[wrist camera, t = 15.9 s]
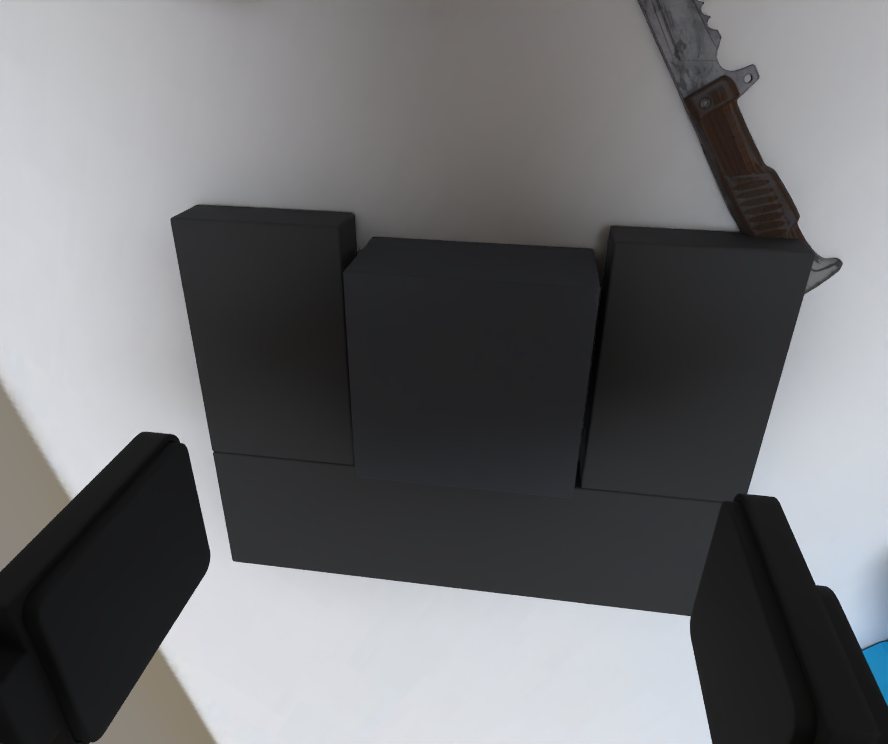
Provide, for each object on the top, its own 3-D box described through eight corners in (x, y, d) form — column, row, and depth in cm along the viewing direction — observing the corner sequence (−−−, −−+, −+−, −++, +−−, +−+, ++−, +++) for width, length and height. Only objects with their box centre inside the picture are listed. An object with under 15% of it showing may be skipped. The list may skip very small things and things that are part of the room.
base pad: (195, 204, 18) (168, 217, 17) (796, 234, 17) (817, 252, 15) (249, 532, 24) (231, 562, 23) (702, 584, 22) (711, 619, 21)
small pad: (372, 236, 18) (342, 271, 16) (593, 248, 17) (600, 288, 15) (379, 420, 21) (355, 477, 18) (570, 438, 20) (572, 499, 18)
